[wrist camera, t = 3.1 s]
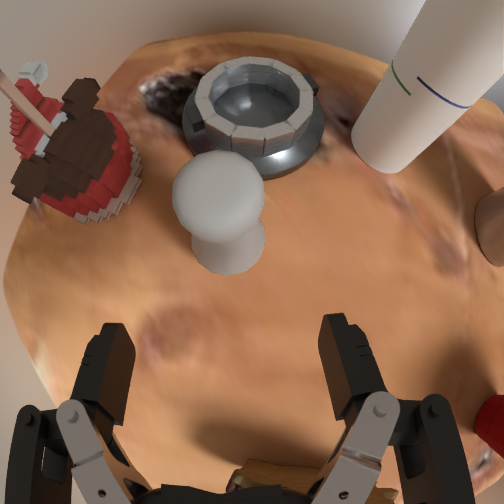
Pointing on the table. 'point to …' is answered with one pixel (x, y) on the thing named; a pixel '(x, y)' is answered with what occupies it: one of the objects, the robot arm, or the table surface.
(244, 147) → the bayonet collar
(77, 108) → the cake
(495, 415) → the plastic cup
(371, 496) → the wooden carving
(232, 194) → the salt shaker
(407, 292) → the table surface
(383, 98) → the cylindrical container
